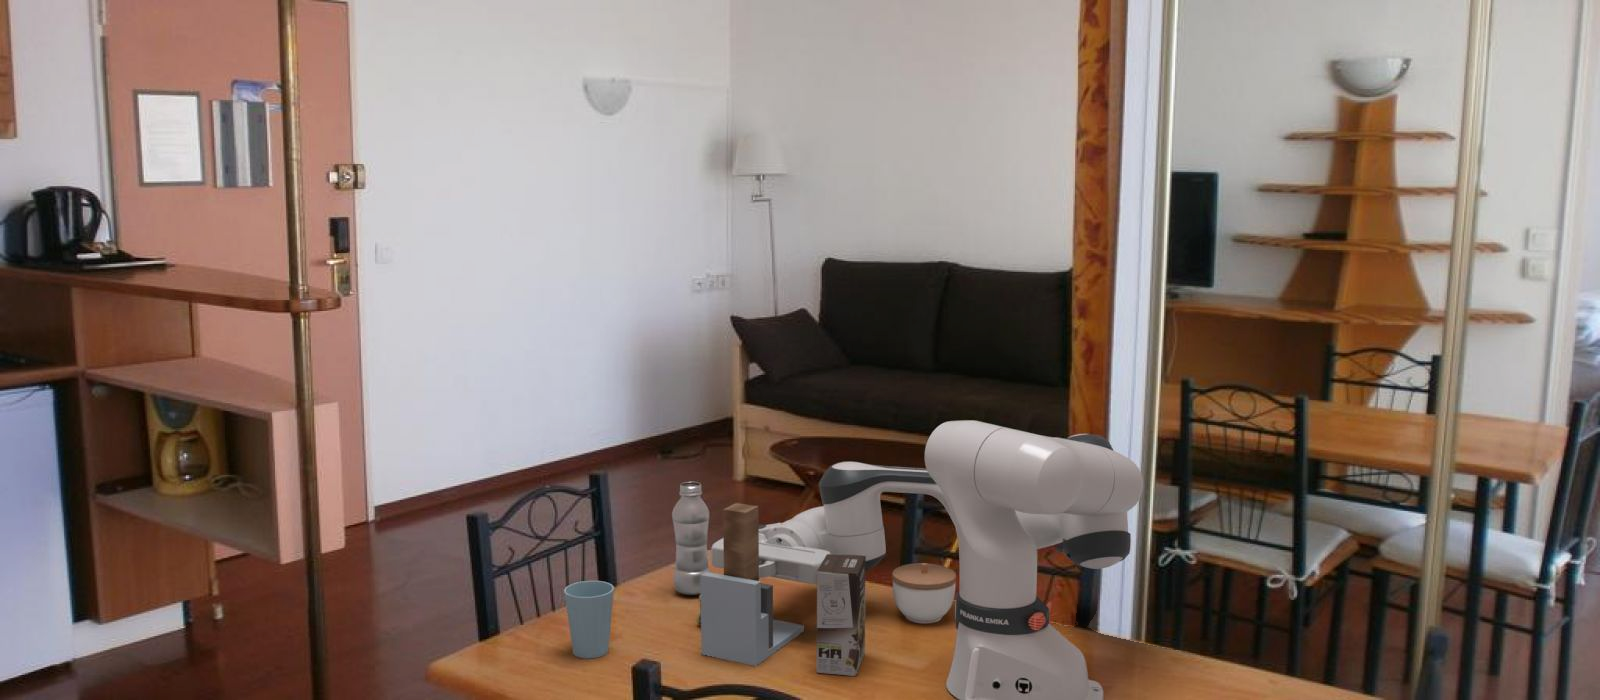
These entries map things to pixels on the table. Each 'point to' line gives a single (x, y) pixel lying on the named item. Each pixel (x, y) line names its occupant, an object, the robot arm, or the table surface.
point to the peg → (741, 541)
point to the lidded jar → (923, 591)
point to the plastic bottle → (690, 539)
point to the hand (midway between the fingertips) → (747, 574)
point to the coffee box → (840, 614)
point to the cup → (589, 617)
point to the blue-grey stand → (740, 620)
